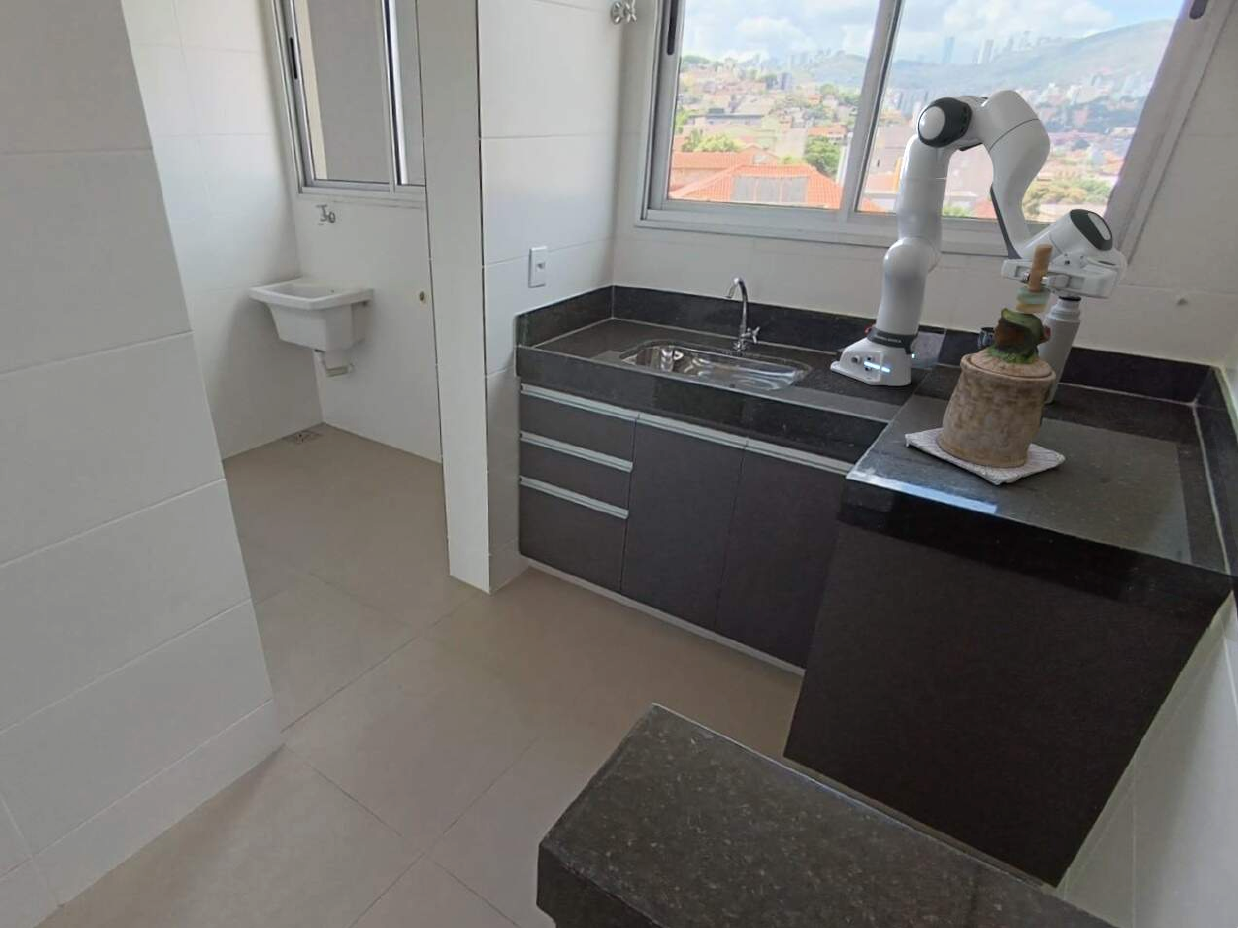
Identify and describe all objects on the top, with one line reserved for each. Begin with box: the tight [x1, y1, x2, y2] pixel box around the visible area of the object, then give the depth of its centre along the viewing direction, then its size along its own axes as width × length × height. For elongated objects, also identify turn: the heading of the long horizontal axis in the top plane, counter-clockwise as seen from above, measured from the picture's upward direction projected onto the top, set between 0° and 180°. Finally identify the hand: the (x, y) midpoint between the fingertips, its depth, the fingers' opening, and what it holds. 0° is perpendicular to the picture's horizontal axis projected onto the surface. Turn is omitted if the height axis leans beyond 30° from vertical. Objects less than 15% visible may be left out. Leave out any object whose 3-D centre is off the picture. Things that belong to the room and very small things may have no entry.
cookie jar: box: [904, 306, 1066, 485], centre depth 143 cm, size 25×25×32 cm
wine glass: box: [977, 326, 995, 352], centre depth 192 cm, size 8×8×15 cm
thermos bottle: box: [1037, 296, 1082, 404], centre depth 179 cm, size 8×8×28 cm
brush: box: [1015, 244, 1053, 315], centre depth 133 cm, size 6×6×12 cm
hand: (1034, 279), depth 132 cm, fingers closed on brush, 3 cm apart
